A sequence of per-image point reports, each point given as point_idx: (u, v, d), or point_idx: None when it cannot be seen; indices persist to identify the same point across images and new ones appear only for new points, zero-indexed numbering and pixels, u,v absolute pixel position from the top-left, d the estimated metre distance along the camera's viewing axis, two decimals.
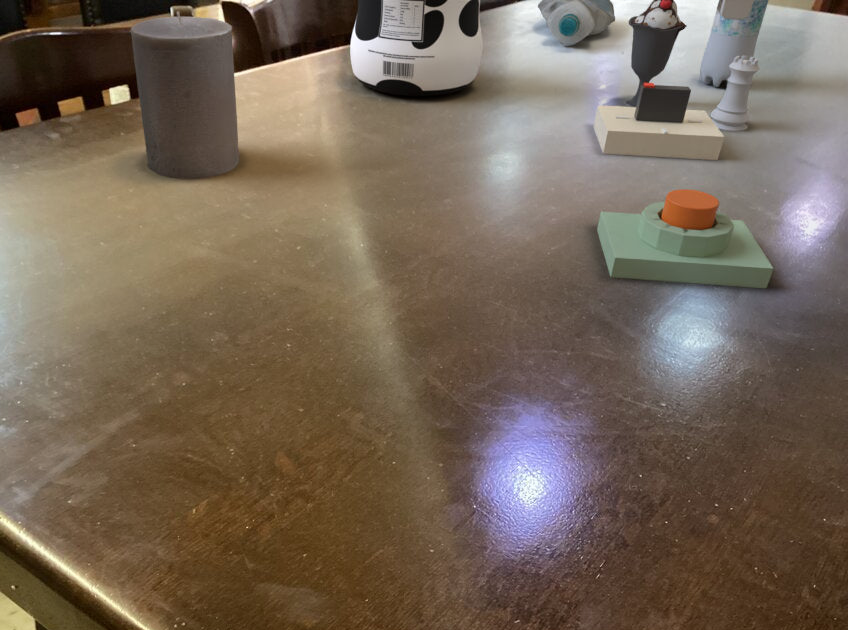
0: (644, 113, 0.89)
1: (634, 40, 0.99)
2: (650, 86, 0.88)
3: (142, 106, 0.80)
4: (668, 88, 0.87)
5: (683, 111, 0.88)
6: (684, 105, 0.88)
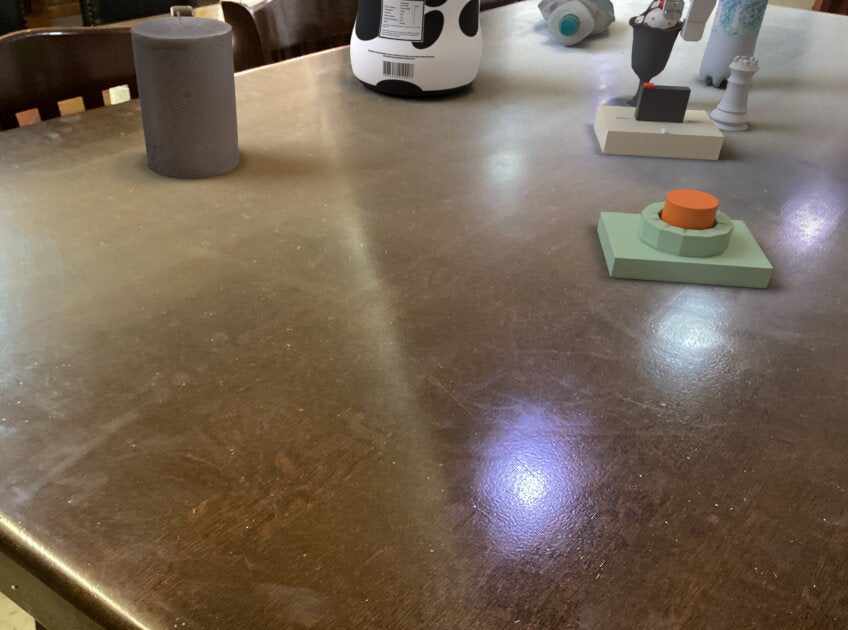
0: (644, 113, 0.89)
1: (634, 40, 0.99)
2: (650, 86, 0.88)
3: (142, 106, 0.80)
4: (668, 88, 0.87)
5: (683, 111, 0.88)
6: (684, 105, 0.88)
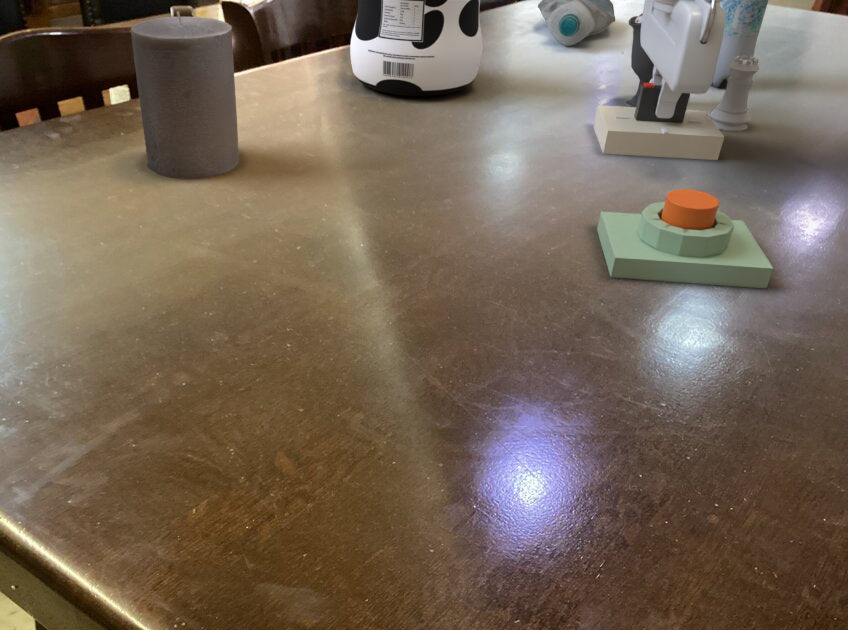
0: (644, 113, 0.89)
1: (634, 40, 0.99)
2: (650, 86, 0.88)
3: (142, 106, 0.80)
4: None
5: (683, 111, 0.88)
6: (684, 105, 0.88)
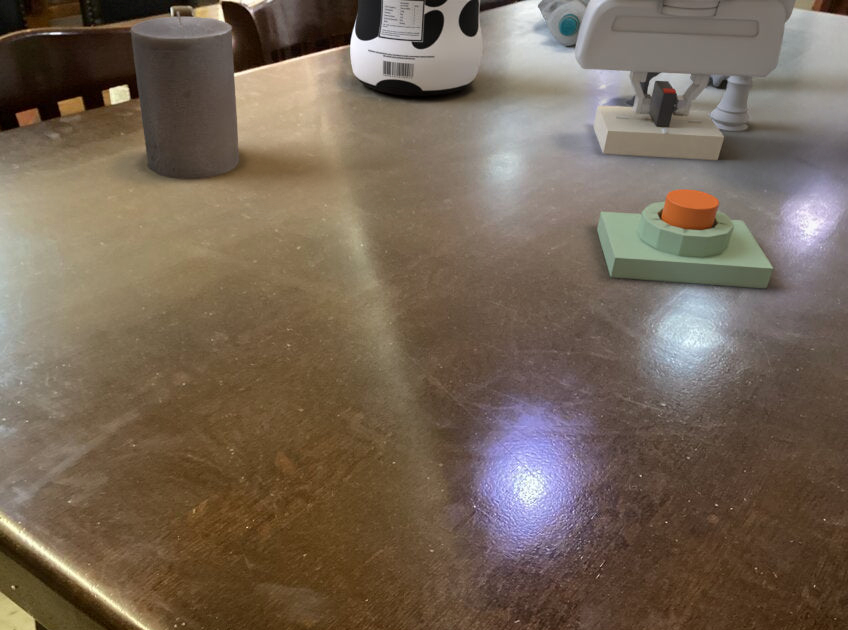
0: None
1: None
2: None
3: (142, 106, 0.80)
4: (669, 87, 0.88)
5: None
6: None
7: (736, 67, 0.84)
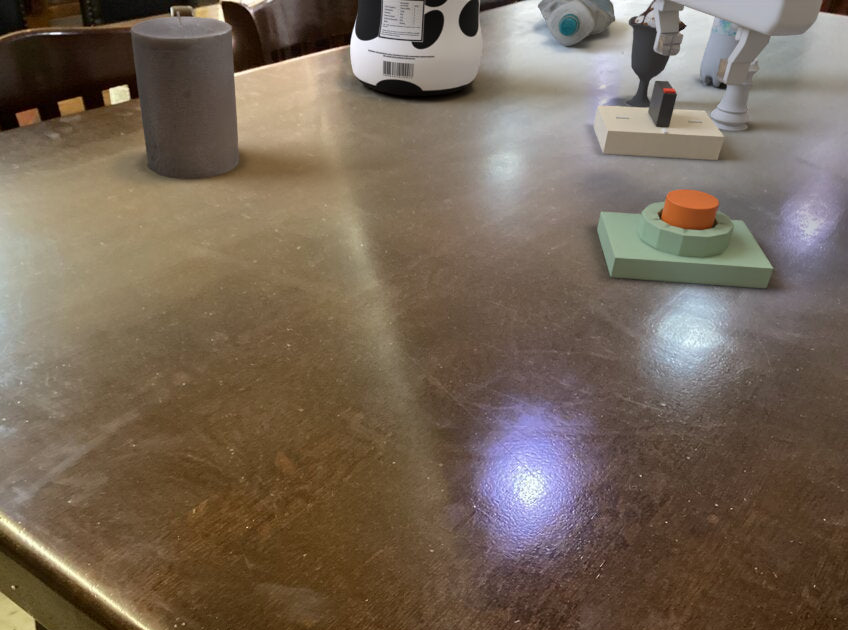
0: None
1: (634, 40, 0.99)
2: None
3: (142, 106, 0.80)
4: (669, 87, 0.88)
5: None
6: None
7: (741, 13, 0.62)
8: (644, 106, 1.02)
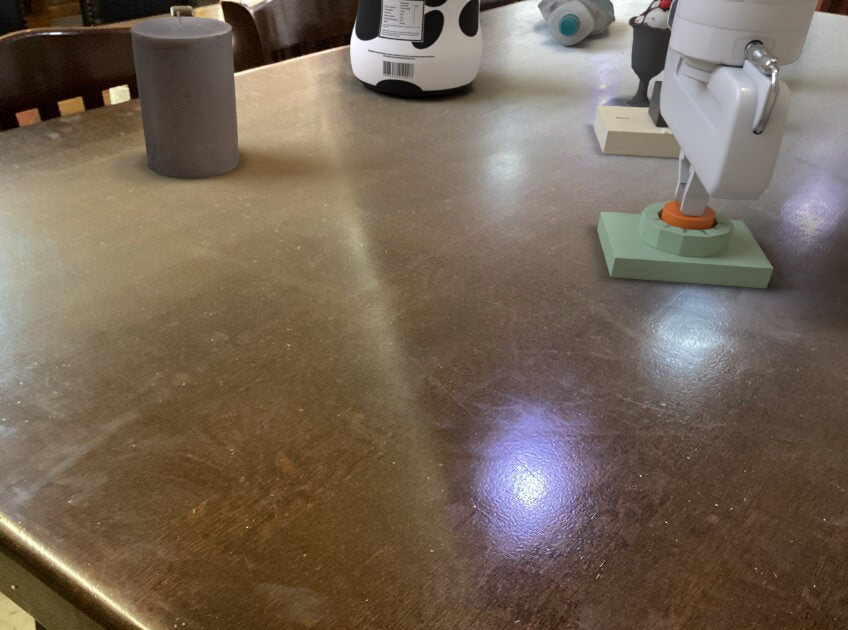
0: None
1: (634, 40, 0.99)
2: None
3: (142, 106, 0.80)
4: None
5: None
6: None
7: (699, 167, 0.58)
8: (644, 106, 1.02)
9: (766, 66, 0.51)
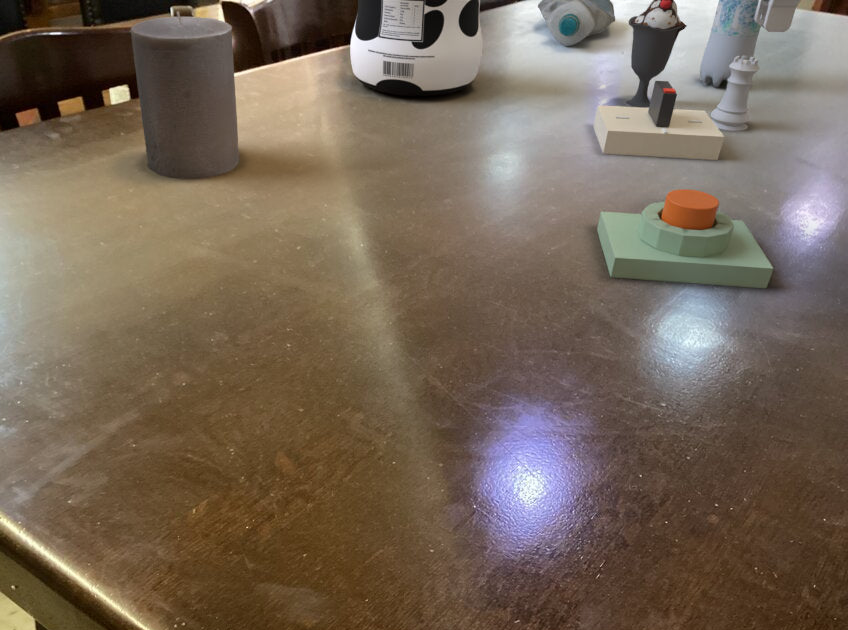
0: None
1: (634, 40, 0.99)
2: None
3: (142, 106, 0.80)
4: (669, 87, 0.88)
5: None
6: None
7: None
8: (644, 106, 1.02)
9: None
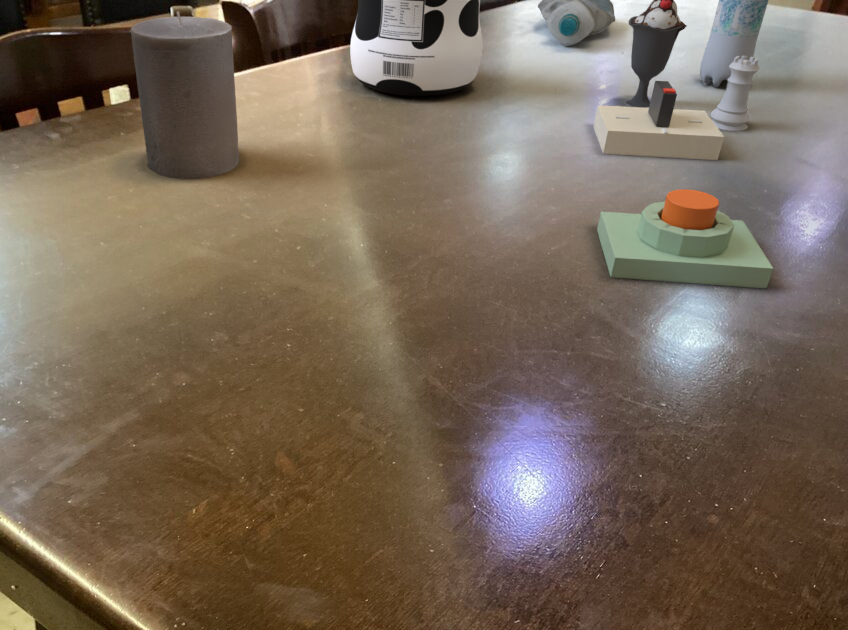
0: None
1: (634, 40, 0.99)
2: None
3: (142, 106, 0.80)
4: (669, 87, 0.88)
5: None
6: None
7: None
8: (644, 106, 1.02)
9: None
